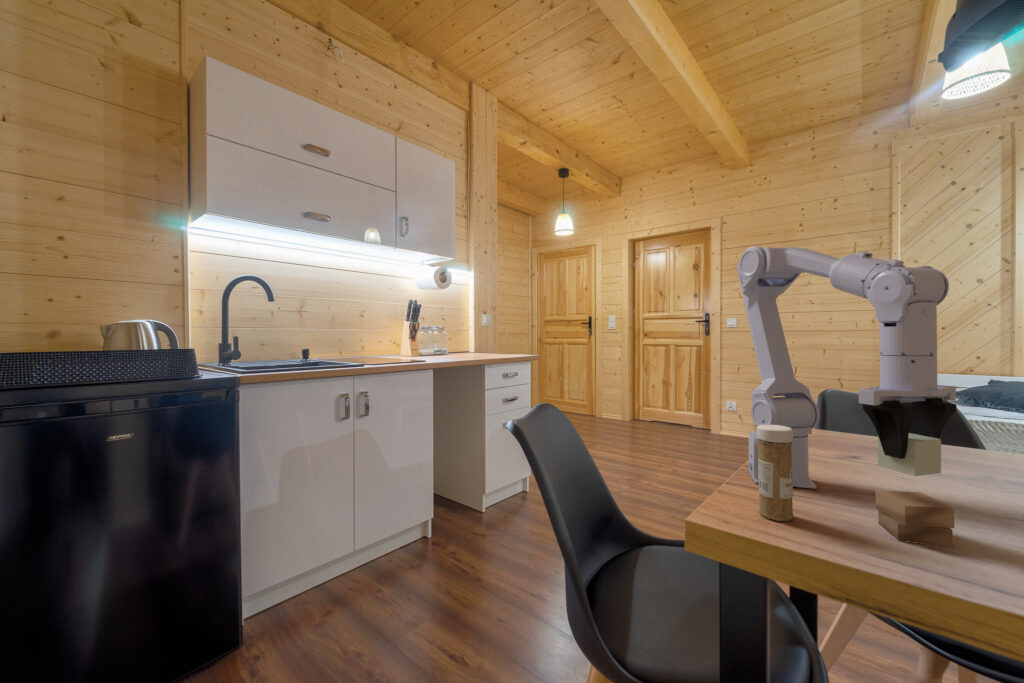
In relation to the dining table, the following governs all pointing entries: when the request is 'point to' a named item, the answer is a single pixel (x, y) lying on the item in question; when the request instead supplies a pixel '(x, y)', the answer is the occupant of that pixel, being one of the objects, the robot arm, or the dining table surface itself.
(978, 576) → the dining table surface
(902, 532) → the tower bottom
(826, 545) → the dining table surface
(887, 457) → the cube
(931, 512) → the tower top
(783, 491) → the sprinkles bottle
